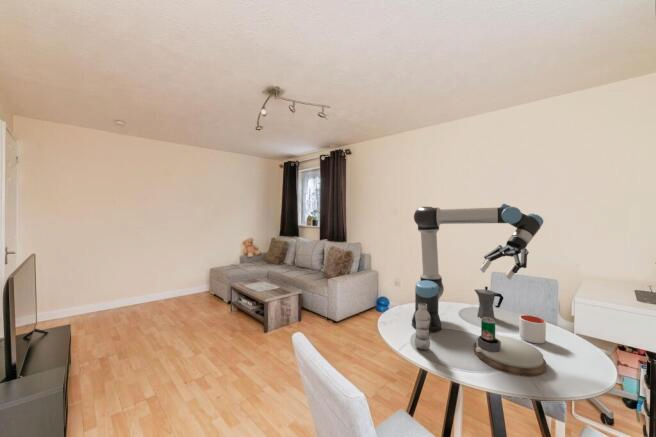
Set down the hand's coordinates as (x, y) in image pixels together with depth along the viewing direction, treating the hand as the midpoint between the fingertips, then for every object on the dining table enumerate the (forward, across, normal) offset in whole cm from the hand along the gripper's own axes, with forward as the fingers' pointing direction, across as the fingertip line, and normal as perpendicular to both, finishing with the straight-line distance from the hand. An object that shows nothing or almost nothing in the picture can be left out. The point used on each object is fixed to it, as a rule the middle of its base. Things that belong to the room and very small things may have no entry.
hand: (494, 273), depth 122 cm
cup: (+8, -2, -38) cm, 39 cm away
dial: (+26, -11, -17) cm, 33 cm away
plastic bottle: (+48, +5, +1) cm, 48 cm away
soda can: (+29, -8, -11) cm, 32 cm away
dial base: (+27, -11, -20) cm, 35 cm away
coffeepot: (+7, +24, -40) cm, 47 cm away
